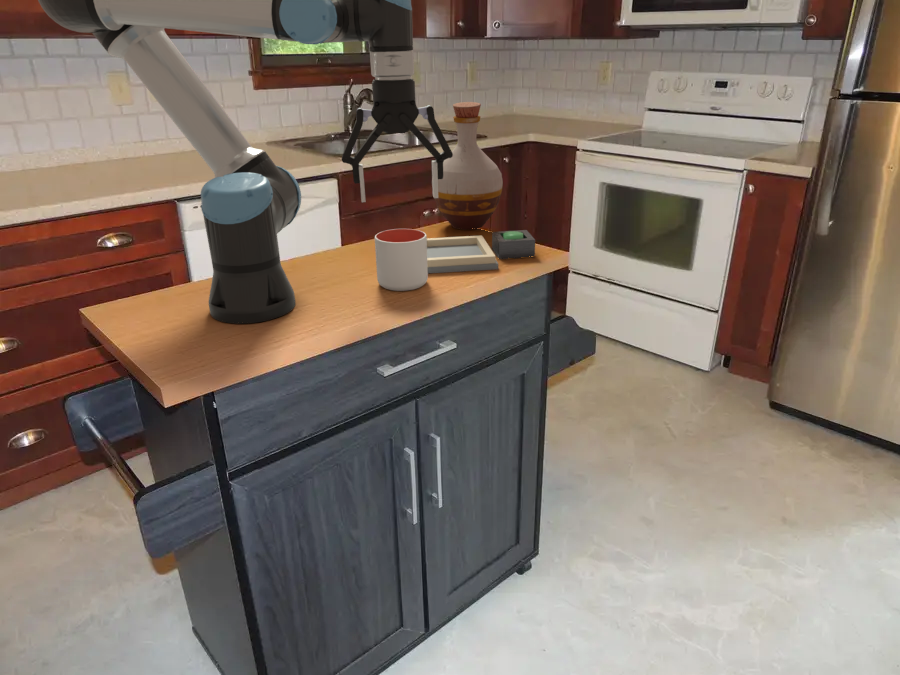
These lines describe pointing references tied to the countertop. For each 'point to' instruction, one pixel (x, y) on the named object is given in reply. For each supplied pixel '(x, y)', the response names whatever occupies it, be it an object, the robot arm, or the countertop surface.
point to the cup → (401, 259)
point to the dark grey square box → (513, 245)
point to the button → (513, 235)
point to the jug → (468, 175)
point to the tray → (459, 254)
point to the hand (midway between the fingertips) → (399, 198)
